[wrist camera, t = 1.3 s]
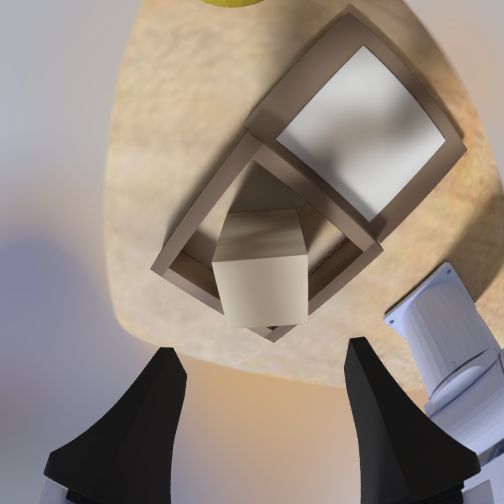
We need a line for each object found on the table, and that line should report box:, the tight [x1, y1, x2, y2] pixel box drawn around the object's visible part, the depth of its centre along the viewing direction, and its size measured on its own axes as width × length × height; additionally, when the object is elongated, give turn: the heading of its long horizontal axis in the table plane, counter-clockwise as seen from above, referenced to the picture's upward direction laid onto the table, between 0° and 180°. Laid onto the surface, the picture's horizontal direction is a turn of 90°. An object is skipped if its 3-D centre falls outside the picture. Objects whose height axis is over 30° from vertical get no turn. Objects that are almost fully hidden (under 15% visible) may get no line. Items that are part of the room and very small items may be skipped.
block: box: [211, 207, 308, 328], centre depth 17 cm, size 5×5×6 cm
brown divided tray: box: [150, 12, 467, 343], centre depth 16 cm, size 12×21×2 cm, turn 142°
